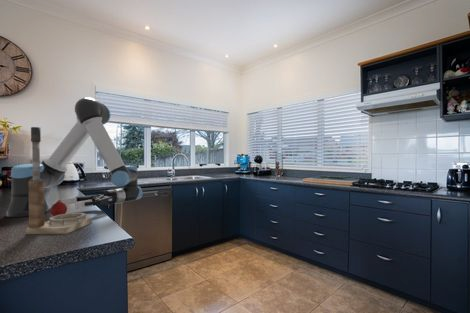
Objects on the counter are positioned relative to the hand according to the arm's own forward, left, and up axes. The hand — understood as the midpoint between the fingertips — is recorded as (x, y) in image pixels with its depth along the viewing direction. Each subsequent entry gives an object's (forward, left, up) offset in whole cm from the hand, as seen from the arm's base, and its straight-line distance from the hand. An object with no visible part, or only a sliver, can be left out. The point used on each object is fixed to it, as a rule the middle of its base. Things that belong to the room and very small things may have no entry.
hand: (67, 203), depth 107 cm
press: (+16, +10, -6) cm, 20 cm away
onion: (+2, -2, -6) cm, 7 cm away
